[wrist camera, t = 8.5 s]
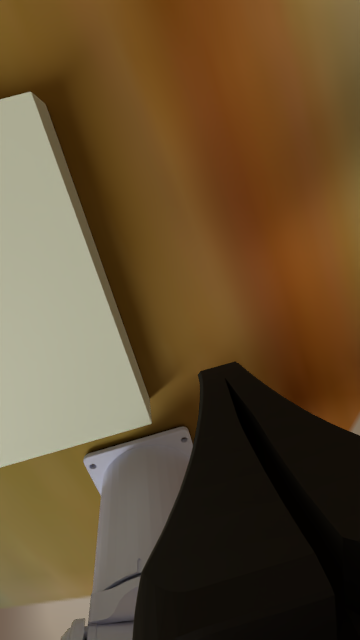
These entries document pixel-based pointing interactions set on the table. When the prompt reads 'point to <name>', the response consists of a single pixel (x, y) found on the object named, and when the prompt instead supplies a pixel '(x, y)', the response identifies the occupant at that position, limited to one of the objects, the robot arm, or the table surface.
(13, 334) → the deck
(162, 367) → the table surface
